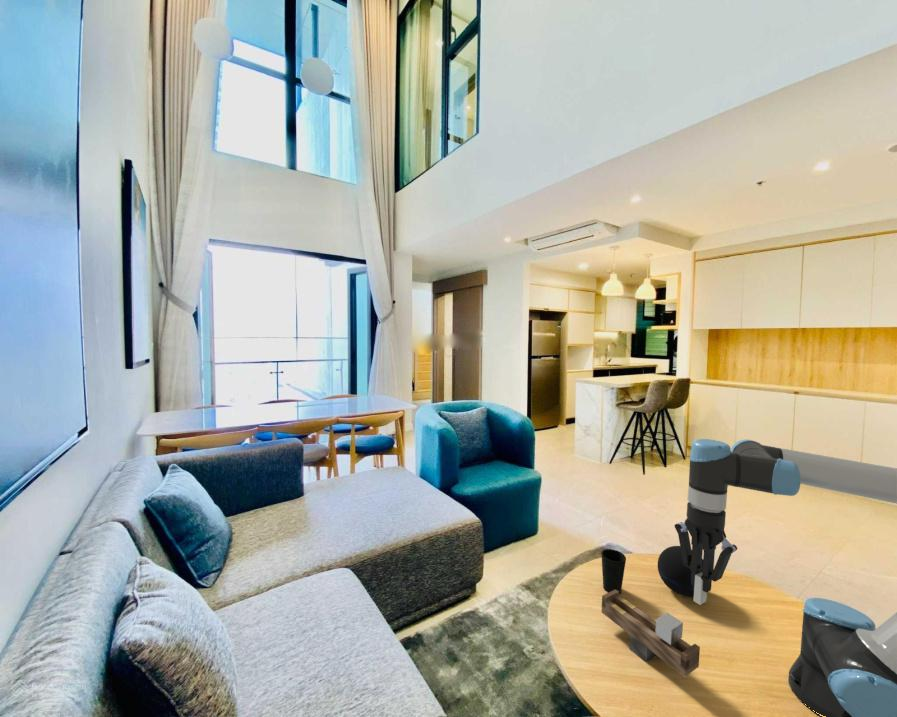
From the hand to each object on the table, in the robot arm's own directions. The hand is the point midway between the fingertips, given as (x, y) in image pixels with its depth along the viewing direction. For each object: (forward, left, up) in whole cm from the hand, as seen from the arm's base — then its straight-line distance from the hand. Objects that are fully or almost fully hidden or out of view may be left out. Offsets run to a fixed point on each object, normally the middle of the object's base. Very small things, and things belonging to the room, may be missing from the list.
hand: (699, 600), depth 90 cm
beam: (+13, 0, -23) cm, 26 cm away
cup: (+34, -14, -23) cm, 43 cm away
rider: (+7, 0, -17) cm, 18 cm away
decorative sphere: (+22, -34, -23) cm, 46 cm away
